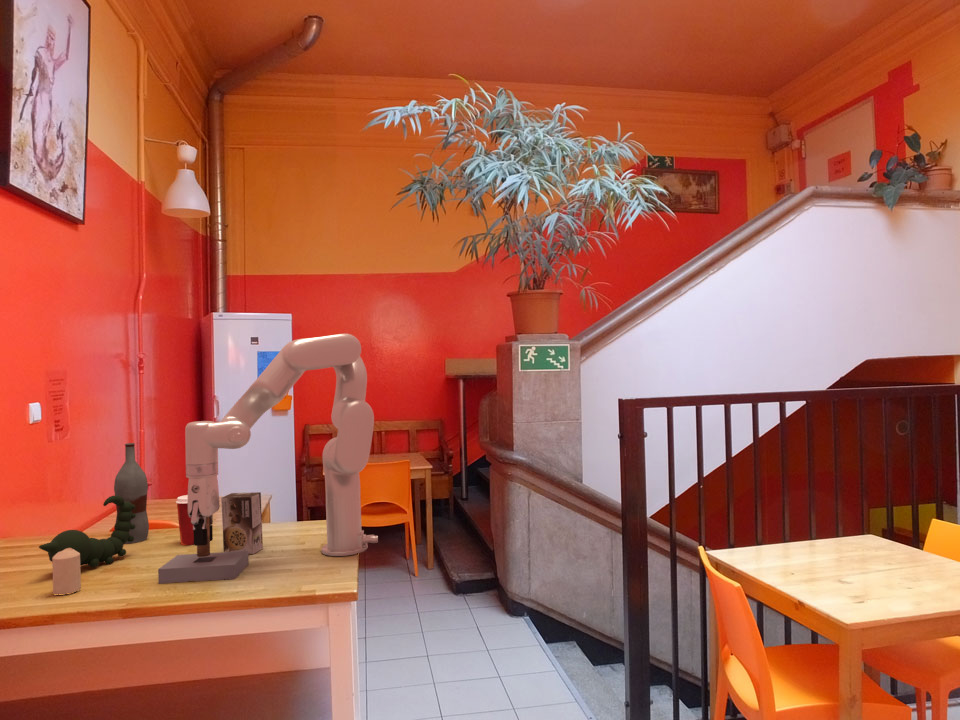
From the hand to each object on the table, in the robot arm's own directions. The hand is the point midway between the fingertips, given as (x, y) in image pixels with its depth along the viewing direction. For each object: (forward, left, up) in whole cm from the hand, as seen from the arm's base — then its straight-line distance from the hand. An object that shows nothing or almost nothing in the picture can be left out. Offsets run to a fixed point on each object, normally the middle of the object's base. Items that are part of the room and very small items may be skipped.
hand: (203, 542), depth 161 cm
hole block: (0, 0, -8) cm, 8 cm away
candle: (+29, +8, -8) cm, 31 cm away
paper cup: (+15, -32, -8) cm, 36 cm away
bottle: (+35, -39, -8) cm, 53 cm away
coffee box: (-4, -19, -8) cm, 21 cm away
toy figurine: (+34, -12, -8) cm, 37 cm away
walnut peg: (0, 0, -3) cm, 3 cm away
